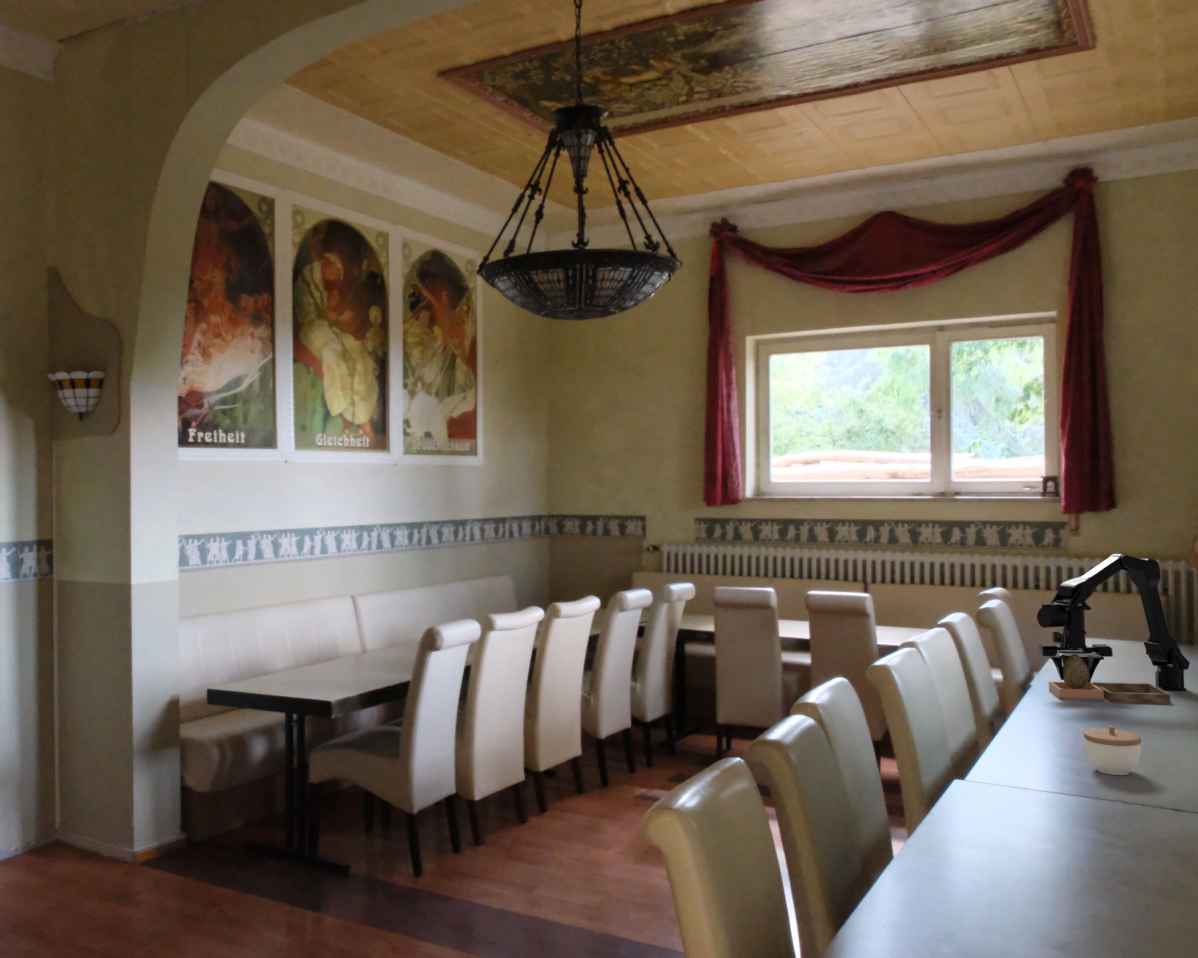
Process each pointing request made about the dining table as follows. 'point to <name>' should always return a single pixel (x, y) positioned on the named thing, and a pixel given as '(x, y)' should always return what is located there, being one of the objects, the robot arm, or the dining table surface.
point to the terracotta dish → (1076, 691)
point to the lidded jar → (1112, 750)
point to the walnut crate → (1149, 696)
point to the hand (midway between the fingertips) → (1075, 679)
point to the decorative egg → (1075, 672)
